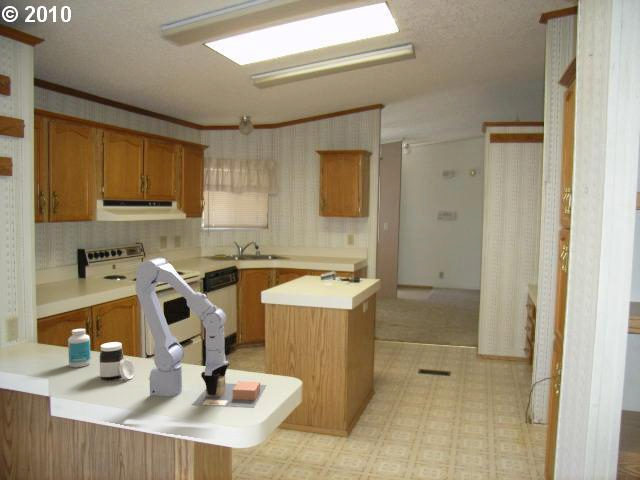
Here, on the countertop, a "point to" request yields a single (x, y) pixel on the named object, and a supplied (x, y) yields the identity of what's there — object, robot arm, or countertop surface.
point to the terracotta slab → (246, 390)
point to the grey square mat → (227, 398)
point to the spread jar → (114, 363)
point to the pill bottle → (79, 348)
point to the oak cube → (218, 387)
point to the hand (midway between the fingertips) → (215, 390)
